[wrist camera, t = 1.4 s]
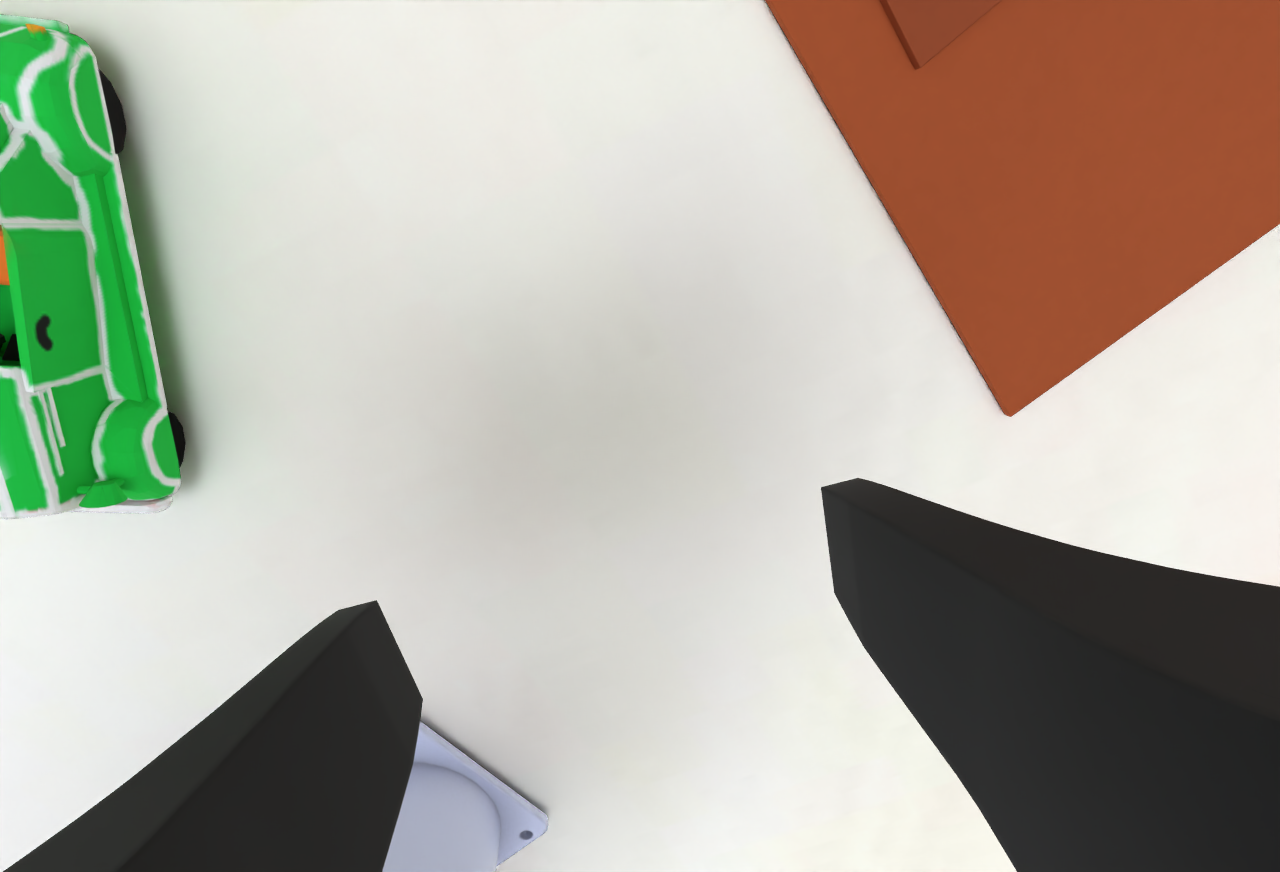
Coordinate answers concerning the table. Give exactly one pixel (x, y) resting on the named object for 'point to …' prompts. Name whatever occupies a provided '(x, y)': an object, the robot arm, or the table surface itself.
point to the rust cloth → (1055, 156)
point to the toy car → (72, 294)
